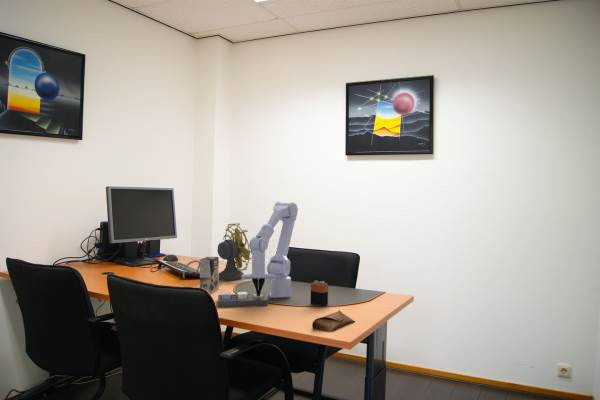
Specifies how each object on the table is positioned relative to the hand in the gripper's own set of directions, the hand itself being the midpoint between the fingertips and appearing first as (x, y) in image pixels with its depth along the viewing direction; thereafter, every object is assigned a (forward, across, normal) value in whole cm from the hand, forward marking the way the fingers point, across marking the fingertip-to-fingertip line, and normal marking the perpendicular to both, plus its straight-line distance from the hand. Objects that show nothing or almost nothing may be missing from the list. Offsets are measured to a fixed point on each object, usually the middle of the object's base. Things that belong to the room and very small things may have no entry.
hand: (258, 295), depth 214 cm
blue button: (+2, -14, 0) cm, 14 cm away
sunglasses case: (+4, +26, -37) cm, 45 cm away
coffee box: (+3, -22, +25) cm, 33 cm away
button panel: (+3, -7, 0) cm, 8 cm away
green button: (+3, 0, 0) cm, 3 cm away
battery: (+3, +26, -6) cm, 27 cm away
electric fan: (+3, -18, +52) cm, 56 cm away
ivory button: (+2, -7, 0) cm, 7 cm away
